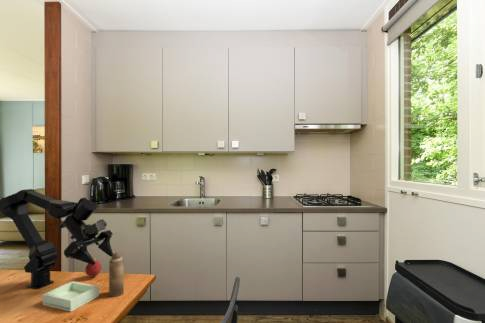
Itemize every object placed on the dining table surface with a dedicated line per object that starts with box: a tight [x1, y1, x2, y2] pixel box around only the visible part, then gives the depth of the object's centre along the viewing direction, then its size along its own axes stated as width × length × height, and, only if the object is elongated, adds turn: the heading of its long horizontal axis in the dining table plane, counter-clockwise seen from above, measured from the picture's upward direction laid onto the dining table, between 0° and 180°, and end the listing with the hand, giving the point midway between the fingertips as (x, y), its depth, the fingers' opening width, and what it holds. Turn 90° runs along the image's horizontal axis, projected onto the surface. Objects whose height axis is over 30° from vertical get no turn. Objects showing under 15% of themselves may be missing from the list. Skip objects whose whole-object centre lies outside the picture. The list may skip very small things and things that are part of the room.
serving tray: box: [42, 280, 100, 312], centre depth 96 cm, size 13×11×4 cm
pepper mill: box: [108, 251, 125, 298], centre depth 101 cm, size 5×5×15 cm
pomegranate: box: [85, 257, 102, 278], centre depth 115 cm, size 6×6×8 cm
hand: (103, 259), depth 102 cm, fingers open, 9 cm apart
